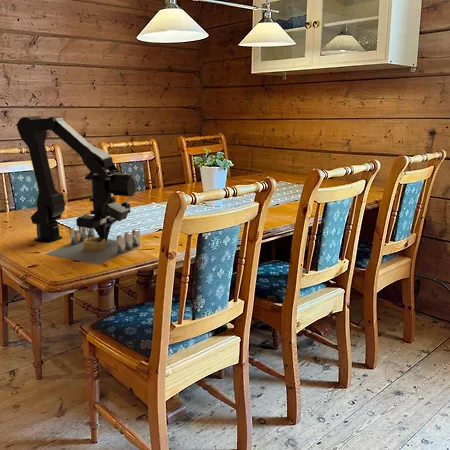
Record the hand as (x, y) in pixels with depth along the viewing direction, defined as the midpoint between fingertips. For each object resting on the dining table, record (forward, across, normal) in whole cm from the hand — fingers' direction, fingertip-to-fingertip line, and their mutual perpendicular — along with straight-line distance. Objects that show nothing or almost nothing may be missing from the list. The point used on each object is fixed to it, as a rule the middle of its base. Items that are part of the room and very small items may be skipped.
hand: (104, 242), depth 156 cm
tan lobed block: (+1, -5, 0) cm, 5 cm away
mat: (+1, -5, 0) cm, 5 cm away
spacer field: (+1, +1, 0) cm, 1 cm away
